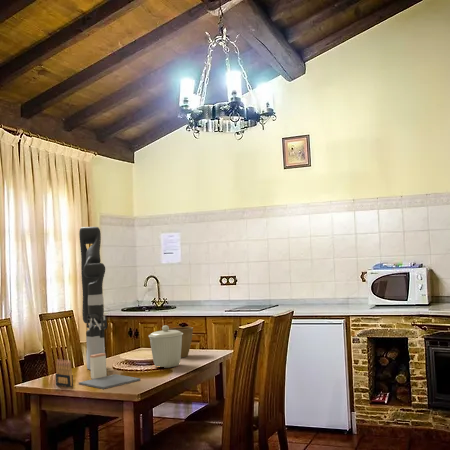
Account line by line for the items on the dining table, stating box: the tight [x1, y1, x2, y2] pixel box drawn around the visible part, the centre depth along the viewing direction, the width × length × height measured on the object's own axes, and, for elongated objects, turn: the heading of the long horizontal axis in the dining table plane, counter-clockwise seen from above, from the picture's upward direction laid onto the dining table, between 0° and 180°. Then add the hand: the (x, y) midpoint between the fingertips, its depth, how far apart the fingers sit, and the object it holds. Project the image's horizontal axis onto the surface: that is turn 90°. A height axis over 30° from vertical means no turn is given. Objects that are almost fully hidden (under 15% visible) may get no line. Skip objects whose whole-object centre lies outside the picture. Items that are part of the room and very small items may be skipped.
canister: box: [148, 324, 183, 369], centre depth 286 cm, size 18×18×21 cm
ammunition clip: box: [55, 358, 74, 388], centre depth 252 cm, size 11×2×12 cm, turn 52°
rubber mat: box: [78, 373, 141, 390], centre depth 254 cm, size 20×20×1 cm
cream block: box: [90, 352, 108, 379], centre depth 267 cm, size 3×7×11 cm, turn 136°
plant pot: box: [169, 326, 194, 358], centre depth 314 cm, size 15×15×16 cm
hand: (97, 337), depth 268 cm, fingers open, 8 cm apart
